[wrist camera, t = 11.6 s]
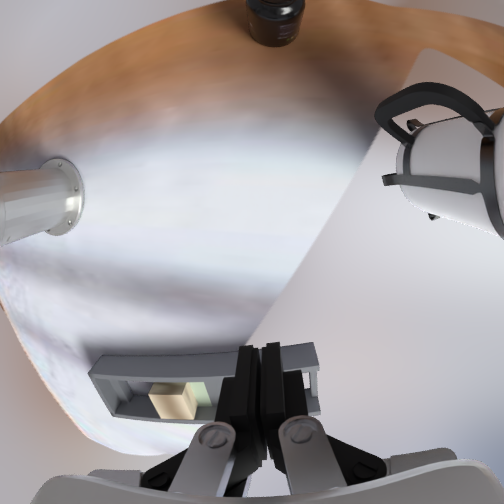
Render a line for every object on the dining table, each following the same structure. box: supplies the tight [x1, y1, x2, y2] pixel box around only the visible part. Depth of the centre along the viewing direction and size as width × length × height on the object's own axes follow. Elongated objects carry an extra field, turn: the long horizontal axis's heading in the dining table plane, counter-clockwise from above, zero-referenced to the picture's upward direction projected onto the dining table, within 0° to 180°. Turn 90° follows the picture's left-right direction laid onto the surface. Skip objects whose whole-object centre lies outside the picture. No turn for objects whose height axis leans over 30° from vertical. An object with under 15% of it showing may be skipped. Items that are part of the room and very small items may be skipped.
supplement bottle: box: [246, 0, 305, 47], centre depth 24 cm, size 7×7×12 cm
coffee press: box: [374, 82, 504, 240], centre depth 19 cm, size 17×16×30 cm
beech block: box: [148, 382, 198, 420], centre depth 40 cm, size 6×6×4 cm
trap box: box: [88, 342, 321, 424], centre depth 41 cm, size 38×11×6 cm, turn 99°
